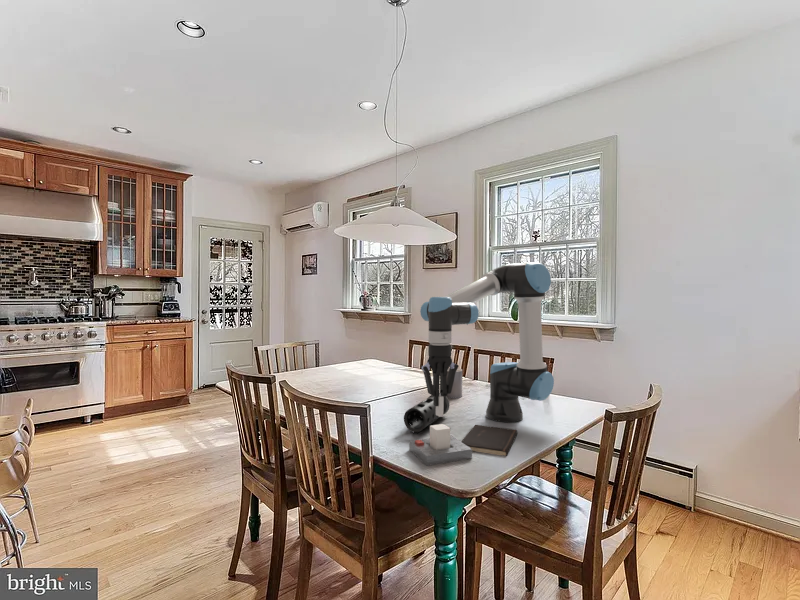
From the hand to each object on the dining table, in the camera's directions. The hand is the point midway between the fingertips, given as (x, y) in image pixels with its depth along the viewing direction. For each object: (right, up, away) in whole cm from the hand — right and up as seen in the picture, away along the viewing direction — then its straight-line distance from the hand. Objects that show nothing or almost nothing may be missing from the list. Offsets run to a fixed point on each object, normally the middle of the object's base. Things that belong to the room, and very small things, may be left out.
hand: (439, 415), depth 142 cm
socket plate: (0, -13, 0) cm, 13 cm away
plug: (0, -13, 0) cm, 13 cm away
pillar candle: (+14, -11, +78) cm, 80 cm away
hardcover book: (+19, -13, +12) cm, 26 cm away
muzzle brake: (-1, -12, +32) cm, 34 cm away
